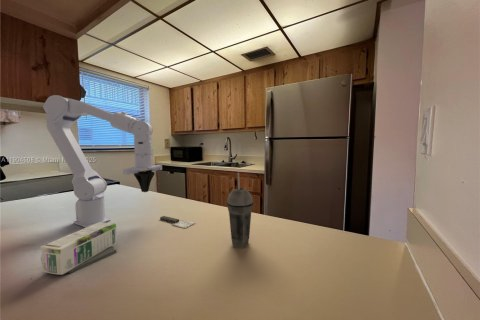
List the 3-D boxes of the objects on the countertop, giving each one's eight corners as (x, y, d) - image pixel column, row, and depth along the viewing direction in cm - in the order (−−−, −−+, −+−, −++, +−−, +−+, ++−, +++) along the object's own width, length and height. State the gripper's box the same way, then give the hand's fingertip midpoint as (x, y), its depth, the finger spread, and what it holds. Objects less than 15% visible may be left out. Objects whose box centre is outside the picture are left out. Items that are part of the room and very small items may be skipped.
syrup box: (117, 243, 56) (62, 276, 42) (99, 241, 58) (40, 272, 43) (116, 223, 56) (60, 249, 42) (98, 221, 57) (38, 246, 43)
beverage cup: (256, 239, 59) (256, 171, 58) (249, 252, 52) (248, 174, 51) (232, 236, 61) (232, 170, 60) (223, 248, 55) (221, 173, 53)
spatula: (156, 221, 74) (156, 218, 74) (167, 217, 79) (167, 214, 78) (185, 228, 67) (185, 225, 67) (195, 223, 72) (195, 220, 72)
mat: (43, 256, 51) (42, 254, 51) (88, 240, 60) (88, 238, 60) (69, 273, 44) (69, 270, 44) (116, 252, 53) (116, 249, 53)
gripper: (131, 156, 66) (133, 197, 67) (167, 154, 79) (168, 188, 80) (118, 155, 69) (120, 194, 71) (154, 153, 82) (156, 187, 83)
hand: (145, 191), depth 75 cm, fingers closed
